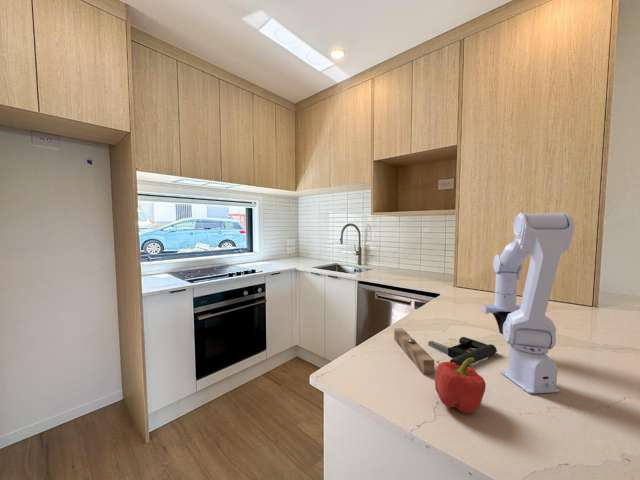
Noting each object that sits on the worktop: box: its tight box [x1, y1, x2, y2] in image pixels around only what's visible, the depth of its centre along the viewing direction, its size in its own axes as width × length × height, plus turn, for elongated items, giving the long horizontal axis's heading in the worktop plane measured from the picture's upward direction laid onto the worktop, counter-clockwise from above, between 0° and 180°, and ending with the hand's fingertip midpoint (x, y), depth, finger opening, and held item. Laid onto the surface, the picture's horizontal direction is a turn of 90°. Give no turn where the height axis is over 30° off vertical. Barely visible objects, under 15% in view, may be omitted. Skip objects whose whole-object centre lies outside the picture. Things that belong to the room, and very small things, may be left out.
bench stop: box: [393, 327, 435, 375], centre depth 83 cm, size 22×3×5 cm, turn 5°
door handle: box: [427, 336, 498, 367], centre depth 85 cm, size 3×20×16 cm
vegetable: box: [434, 358, 487, 414], centre depth 60 cm, size 11×10×10 cm
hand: (503, 333), depth 86 cm, fingers closed
